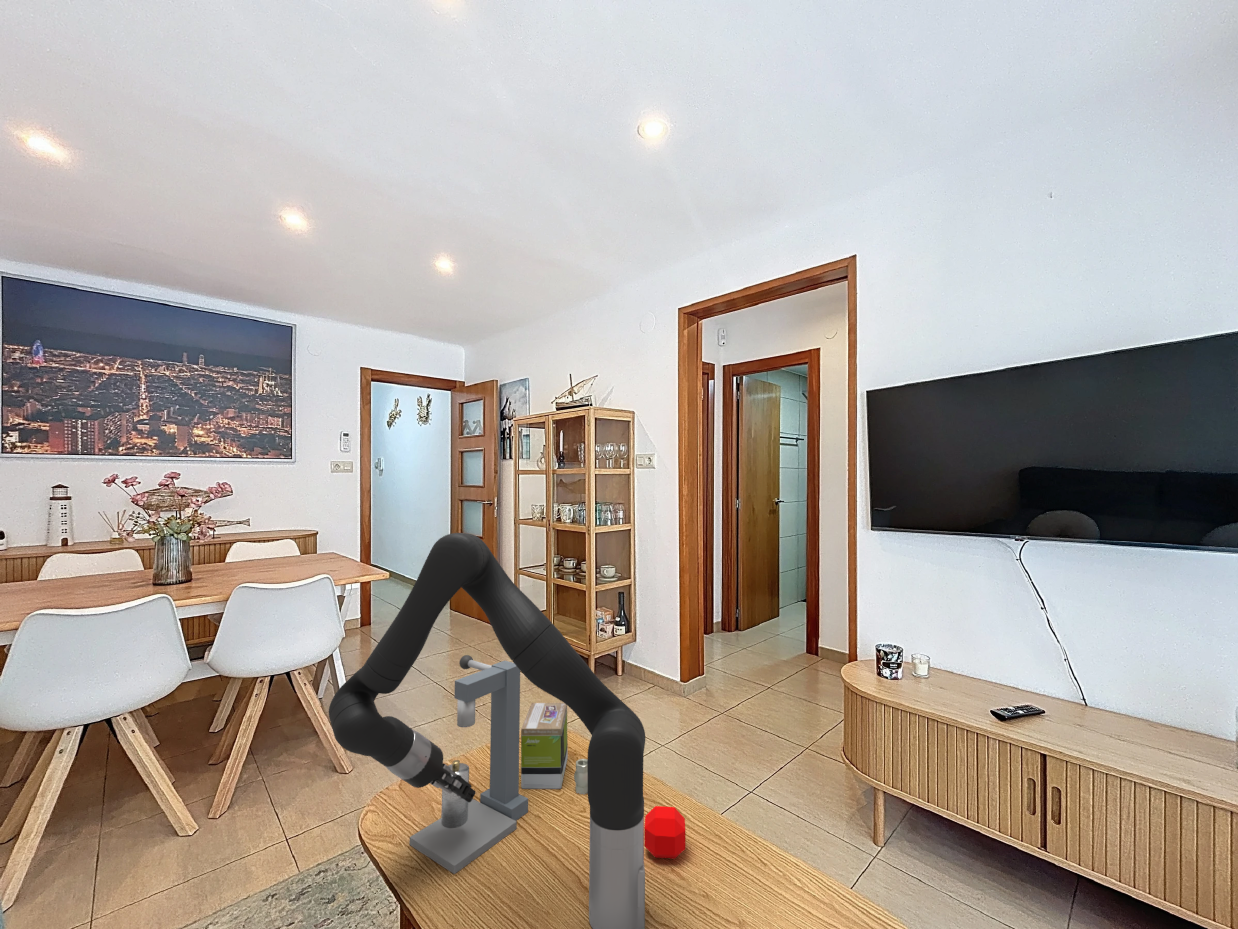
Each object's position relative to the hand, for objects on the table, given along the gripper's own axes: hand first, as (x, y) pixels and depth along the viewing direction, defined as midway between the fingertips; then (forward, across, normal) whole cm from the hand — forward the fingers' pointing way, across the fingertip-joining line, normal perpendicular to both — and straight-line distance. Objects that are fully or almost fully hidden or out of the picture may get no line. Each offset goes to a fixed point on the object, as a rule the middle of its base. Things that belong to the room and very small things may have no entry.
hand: (462, 792), depth 110 cm
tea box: (+27, +3, -13) cm, 30 cm away
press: (+9, +4, +4) cm, 11 cm away
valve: (+27, -14, -14) cm, 33 cm away
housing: (+2, 0, +5) cm, 5 cm away
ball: (+21, -36, -8) cm, 43 cm away
